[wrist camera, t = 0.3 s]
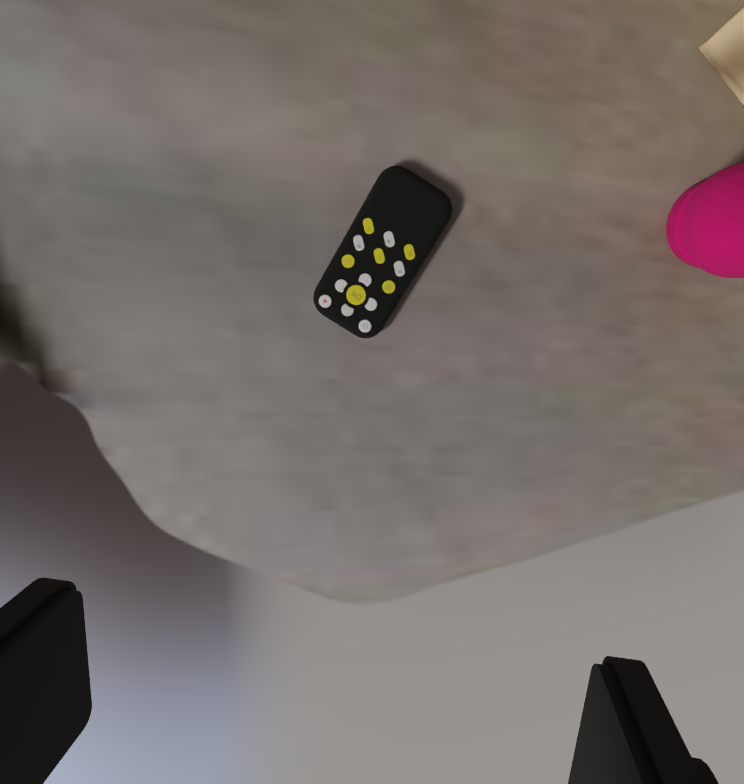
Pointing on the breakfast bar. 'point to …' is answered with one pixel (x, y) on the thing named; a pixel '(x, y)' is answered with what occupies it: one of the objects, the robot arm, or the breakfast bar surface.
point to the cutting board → (728, 53)
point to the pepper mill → (711, 224)
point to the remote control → (382, 251)
